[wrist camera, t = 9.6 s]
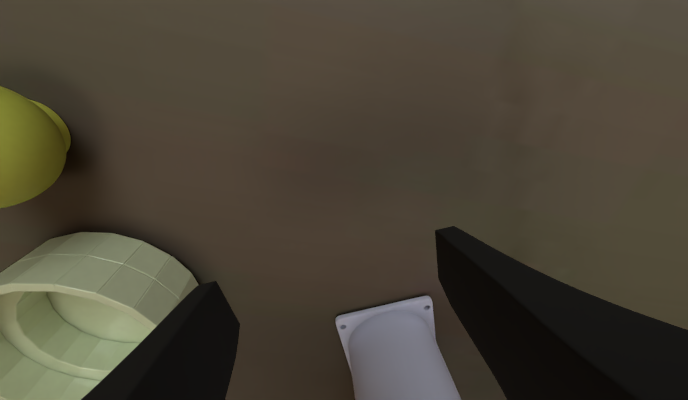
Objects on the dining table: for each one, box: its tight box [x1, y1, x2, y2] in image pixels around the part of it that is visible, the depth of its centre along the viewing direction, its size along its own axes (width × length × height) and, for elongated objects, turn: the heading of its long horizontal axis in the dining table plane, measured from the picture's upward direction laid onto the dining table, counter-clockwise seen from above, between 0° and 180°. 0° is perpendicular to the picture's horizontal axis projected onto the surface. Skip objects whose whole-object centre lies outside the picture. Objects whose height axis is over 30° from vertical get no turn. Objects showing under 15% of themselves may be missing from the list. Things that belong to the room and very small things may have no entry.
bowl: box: [0, 232, 199, 400], centre depth 18 cm, size 11×11×5 cm
